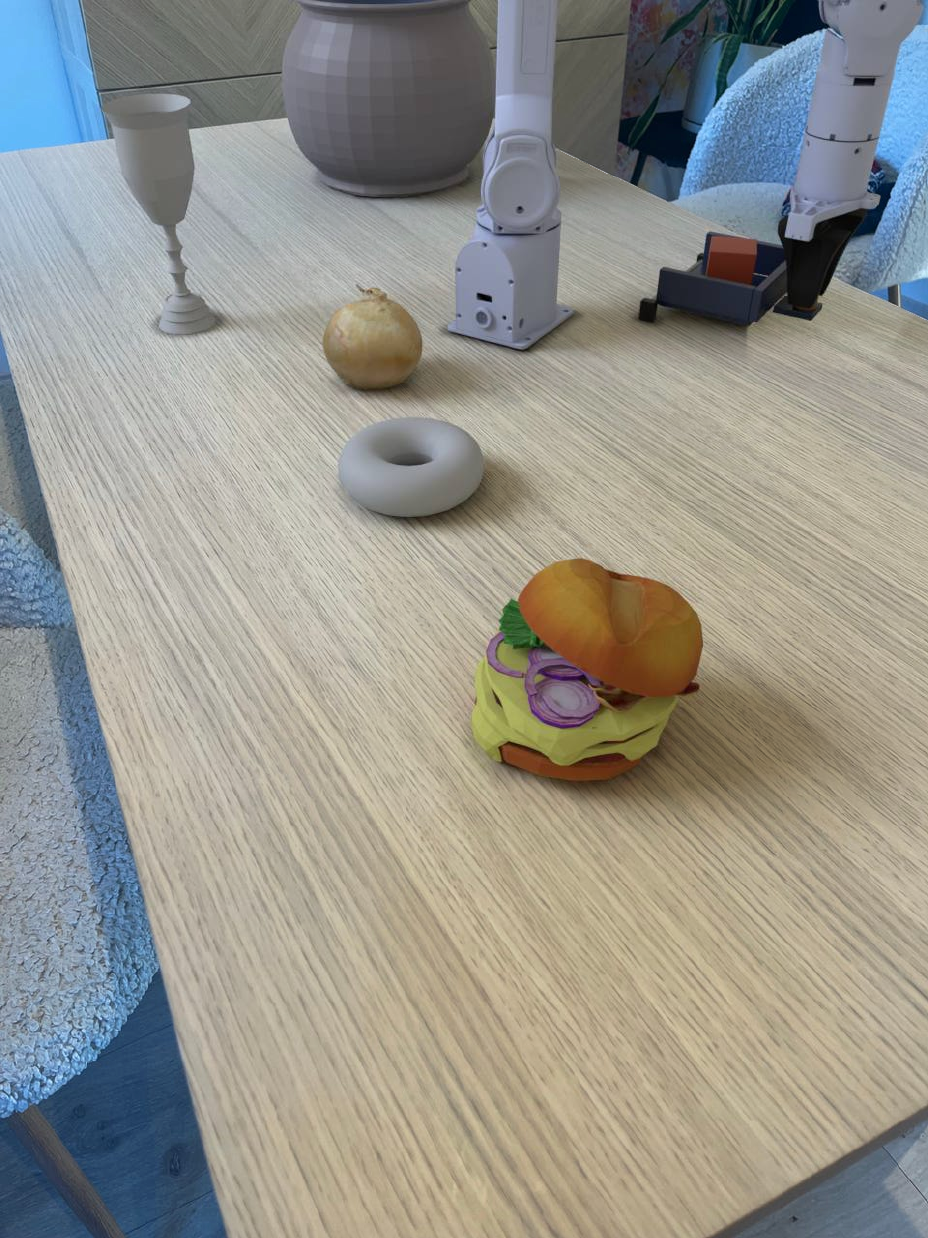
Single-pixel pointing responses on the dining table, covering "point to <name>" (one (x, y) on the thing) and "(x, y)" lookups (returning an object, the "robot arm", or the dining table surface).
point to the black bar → (653, 304)
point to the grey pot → (389, 93)
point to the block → (732, 259)
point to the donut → (410, 491)
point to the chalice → (161, 186)
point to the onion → (372, 342)
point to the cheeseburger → (585, 672)
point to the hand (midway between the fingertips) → (806, 298)
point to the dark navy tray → (732, 289)
